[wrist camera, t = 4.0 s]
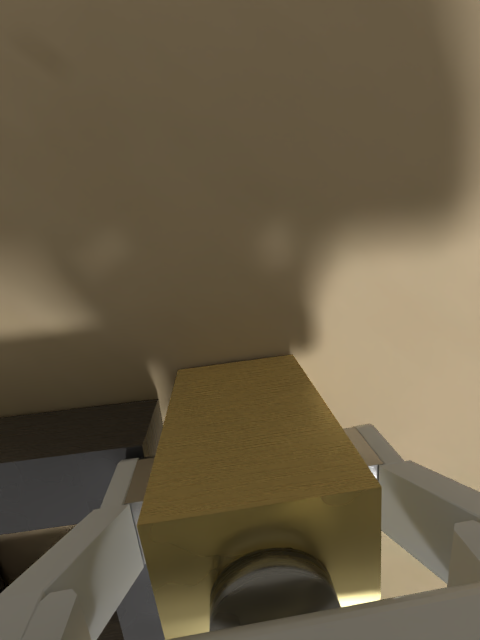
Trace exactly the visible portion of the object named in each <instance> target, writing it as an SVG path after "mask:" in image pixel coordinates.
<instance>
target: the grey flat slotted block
mask: <svg viewBox="0 0 480 640" xmlns="http://www.w3.org/2000/svg"><path fill="white" fill-rule="evenodd" d="M162 428H163V425H162V419H161V413H160V408H159V402H158V399H156V400H147V401H139V402H131V403H122V404H114V405H105V406H97V407H89V408H80V409H72V410H64V411H55V412H47V413H39V414H30V415H22V416H13V417H5V418H0V535H2V534H9V533H16V532H23V531H31V530H38V529H45V528H52V527H59V526H66V525H74V524H78V523H79V522H81V521H82V520H83V519H84V518H85V517H86V516H87V515H88V514H89V513H91V512H92V511H93V510H94V509H100V507H101V504H102V502H103V499H104V497H105V494H106V492H107V489H108V487H109V484H110V482H111V479H112V477H113V474H114V472H115V469H116V467H117V464H118V463H119V462H120V461H121V460H125V459H132V458H140V457H147V456H155V455H156V451H157V447H158V443H159V440H160V436H161V432H162ZM5 589H6V588H5V586H4V583H3V581H2V578H1V576H0V593H1V592H2V591H4V590H5ZM97 640H165V637H164V633H163V629H162V625H161V621H160V617H159V613H158V609H157V605H156V601H155V597H154V593H153V589H152V585H151V581H150V577H149V573H148V569H147V565H146V564H144V568H143V569H142V571H141V572H140V574H139V575H138V577H137V579H136V580H135V582H134V583H133V585H132V586H131V588H130V589H129V591H128V592H127V594H126V595H125V597H124V598H123V600H122V602H121V603H120V605H119V606H118V608H117V609H116V611H115V612H114V614H113V615H112V617H111V618H110V620H109V621H108V623H107V625H106V626H105V628H104V629H103V631H102V632H101V634H100V635H99V637H98V638H97Z"/></svg>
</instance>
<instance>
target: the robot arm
mask: <svg viewBox="0 0 480 640" xmlns="http://www.w3.org/2000/svg"><path fill="white" fill-rule="evenodd" d="M343 430H344V431H345V433H346V434H347V436H348V437H349V439H350V440H351V442H352V443H353V445H354V446H355V448H356V449H357V451H358V452H359V454H360V455H361V457H362V458H363V460H364V461H365V463H366V464H367V466H368V467H369V469H370V470H371V472H372V473H373V475H374V476H375V478H376V479H377V480H378V482H379V483H380V485H381V486H382V505H381V531H383V532H384V533H385V534H386V535H387V536H389V537H390V538H391V539H392V540H394V541H395V542H396V543H397V544H399V545H400V546H401V547H402V548H403V549H405V550H406V551H407V552H408V553H410V554H411V555H412V556H413V557H415V558H416V559H417V560H418V561H420V562H421V563H422V564H423V565H424V566H426V567H427V568H428V569H429V570H431V571H432V572H433V573H434V574H436V575H437V576H438V577H439V578H440V579H442V580H443V581H444V582H445V583H447V588H441V589H436V590H431V591H425V592H420V593H415V594H409V595H404V596H399V597H393V598H388V599H383V600H377V601H372V602H367V603H361V604H356V605H350V606H345V607H340V608H334V609H329V610H324V611H318V612H313V613H307V614H302V615H297V616H291V617H286V618H280V619H275V620H270V621H264V622H259V623H253V624H248V625H243V626H237V627H232V628H226V629H221V630H216V631H210V632H205V633H199V634H194V635H189V636H183V637H178V638H172V639H167V640H480V492H478V491H476V490H474V489H472V488H470V487H467V486H465V485H463V484H461V483H459V482H456V481H454V480H452V479H450V478H448V477H445V476H443V475H441V474H439V473H437V472H434V471H432V470H430V469H428V468H426V467H423V466H421V465H419V464H417V463H415V462H412V461H404V460H403V459H402V458H401V456H400V455H399V454H398V453H397V452H396V451H395V450H394V449H393V447H392V446H391V445H390V444H389V443H388V442H387V441H386V439H385V438H384V437H383V436H382V435H381V434H380V433H379V432H378V430H377V429H376V428H375V427H374V426H373V425H371V424H365V425H359V426H353V427H351V428H344V429H343ZM154 458H155V456H147V457H140V458H132V459H125V460H121V461H120V462H119V463H118V464H117V467H116V469H115V472H114V474H113V477H112V479H111V482H110V484H109V487H108V489H107V492H106V494H105V497H104V499H103V502H102V504H101V507H100V509H94V510H93V511H92V512H91V513H89V514H88V515H87V516H86V517H85V518H84V519H83V520H82V521H81V522H79V523H78V524H77V525H76V526H75V527H74V528H73V529H72V530H70V531H69V532H68V533H67V534H66V535H65V536H64V537H63V538H62V539H60V540H59V541H58V542H57V543H56V544H55V545H54V546H53V547H52V548H50V549H49V550H48V551H47V552H46V553H45V554H44V555H43V556H41V557H40V558H39V559H38V560H37V561H36V562H35V563H34V564H33V565H31V566H30V567H29V568H28V569H27V570H26V571H25V572H24V573H23V574H21V575H20V576H19V577H18V578H17V579H16V580H15V581H14V582H13V583H11V584H10V585H9V586H8V587H7V588H6V589H5V590H4V591H2V592H1V593H0V640H97V638H98V637H99V635H100V634H101V632H102V631H103V629H104V628H105V626H106V625H107V623H108V621H109V620H110V618H111V617H112V615H113V614H114V612H115V611H116V609H117V608H118V606H119V605H120V603H121V602H122V600H123V598H124V597H125V595H126V594H127V592H128V591H129V589H130V588H131V586H132V585H133V583H134V582H135V580H136V579H137V577H138V575H139V574H140V572H141V571H142V569H143V568H144V564H146V561H145V557H144V553H143V549H142V545H141V541H140V537H139V533H138V529H137V522H138V519H139V515H140V511H141V507H142V504H143V500H144V496H145V492H146V489H147V485H148V481H149V477H150V473H151V470H152V466H153V462H154Z"/></svg>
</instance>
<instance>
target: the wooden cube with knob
mask: <svg viewBox="0 0 480 640" xmlns="http://www.w3.org/2000/svg"><path fill="white" fill-rule="evenodd" d="M381 505H382V486H381V485H380V483H379V482H378V480H377V479H376V478H375V476H374V475H373V473H372V472H371V470H370V469H369V467H368V466H367V464H366V463H365V461H364V460H363V458H362V457H361V455H360V454H359V452H358V451H357V449H356V448H355V446H354V445H353V443H352V442H351V440H350V439H349V437H348V436H347V434H346V433H345V431H344V430H343V429H342V427H341V426H340V424H339V423H338V421H337V420H336V418H335V417H334V415H333V414H332V412H331V411H330V409H329V408H328V406H327V405H326V403H325V402H324V400H323V399H322V397H321V396H320V394H319V393H318V391H317V390H316V388H315V387H314V385H313V384H312V382H311V381H310V380H309V378H308V377H307V375H306V374H305V372H304V371H303V369H302V368H301V366H300V365H299V363H298V362H297V360H296V359H295V357H294V356H293V354H292V355H285V356H278V357H270V358H263V359H255V360H248V361H241V362H233V363H226V364H218V365H211V366H203V367H196V368H189V369H181V370H178V372H177V376H176V380H175V383H174V387H173V391H172V395H171V398H170V402H169V406H168V410H167V413H166V417H165V421H164V425H163V428H162V432H161V436H160V440H159V443H158V447H157V451H156V455H155V458H154V462H153V466H152V470H151V473H150V477H149V481H148V485H147V489H146V492H145V496H144V500H143V504H142V507H141V511H140V515H139V519H138V522H137V529H138V533H139V537H140V541H141V545H142V549H143V553H144V557H145V561H146V565H147V569H148V573H149V577H150V581H151V585H152V589H153V593H154V597H155V601H156V605H157V609H158V613H159V617H160V621H161V625H162V629H163V633H164V637H165V640H167V639H172V638H178V637H183V636H189V635H194V634H199V633H205V632H210V631H216V630H221V629H226V628H232V627H237V626H243V625H248V624H253V623H259V622H264V621H270V620H275V619H280V618H286V617H291V616H297V615H302V614H307V613H313V612H318V611H324V610H329V609H334V608H340V607H345V606H350V605H356V604H361V603H367V602H372V601H377V600H380V584H381Z"/></svg>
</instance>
